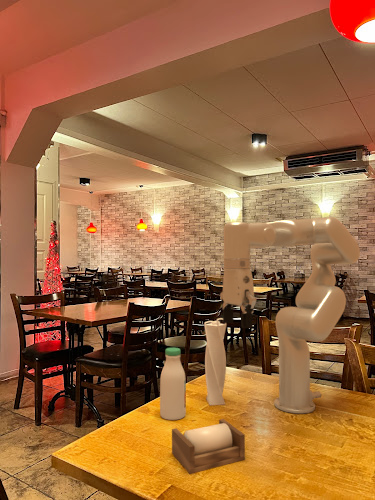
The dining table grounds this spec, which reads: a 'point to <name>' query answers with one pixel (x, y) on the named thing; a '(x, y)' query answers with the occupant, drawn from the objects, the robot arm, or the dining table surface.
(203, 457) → the cradle
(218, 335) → the skyscraper
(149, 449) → the dining table surface
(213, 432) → the roll
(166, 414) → the milk bottle
